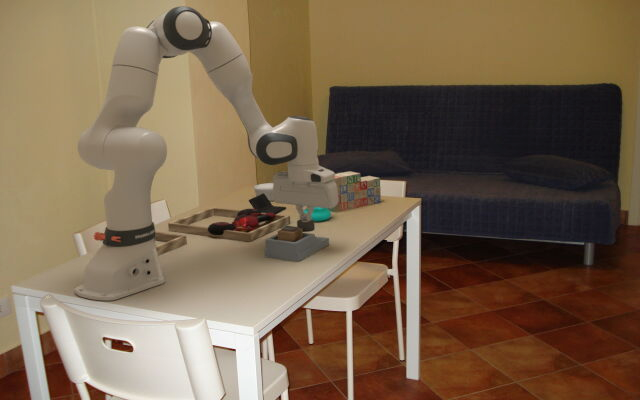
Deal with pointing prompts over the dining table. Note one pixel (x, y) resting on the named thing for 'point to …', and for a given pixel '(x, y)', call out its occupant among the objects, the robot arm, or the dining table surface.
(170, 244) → the wooden frame
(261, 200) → the handheld gaming console
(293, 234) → the brown block
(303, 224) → the wheel
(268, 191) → the ramekin
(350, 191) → the stack of blocks
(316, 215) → the donuts
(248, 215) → the toy motorcycle
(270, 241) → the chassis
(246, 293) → the dining table surface
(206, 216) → the wooden open frame
